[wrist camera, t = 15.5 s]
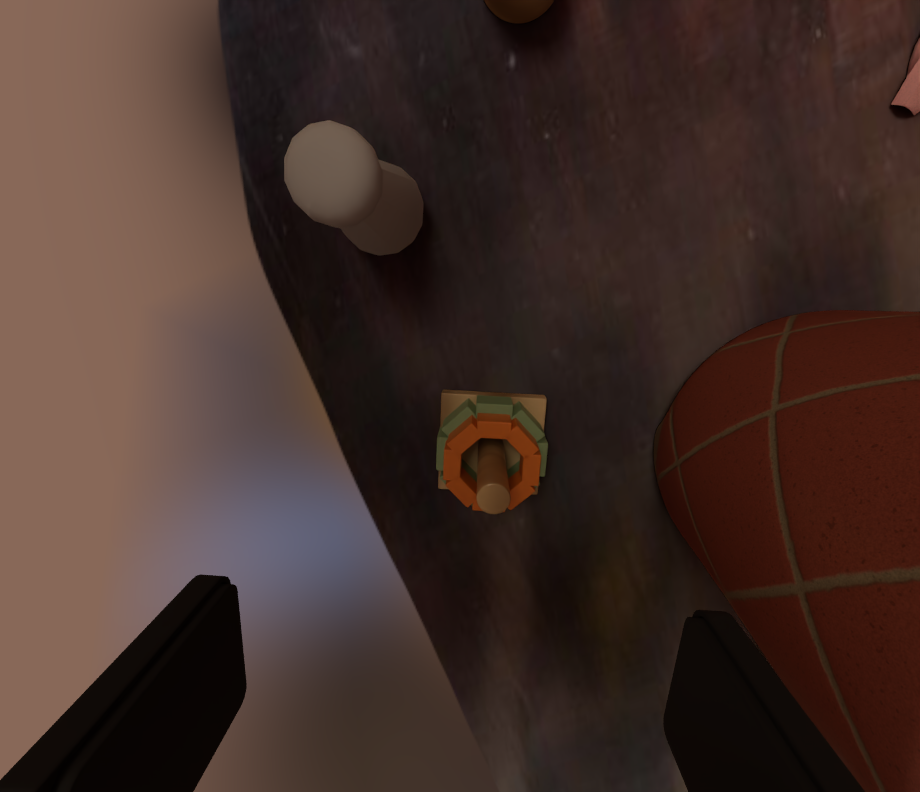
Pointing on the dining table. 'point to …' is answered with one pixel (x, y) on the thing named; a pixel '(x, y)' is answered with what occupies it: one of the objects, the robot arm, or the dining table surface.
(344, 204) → the salt shaker
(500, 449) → the post
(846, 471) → the planter
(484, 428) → the top ring
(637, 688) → the dining table surface
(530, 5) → the stand
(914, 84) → the cloth
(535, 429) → the bottom ring
